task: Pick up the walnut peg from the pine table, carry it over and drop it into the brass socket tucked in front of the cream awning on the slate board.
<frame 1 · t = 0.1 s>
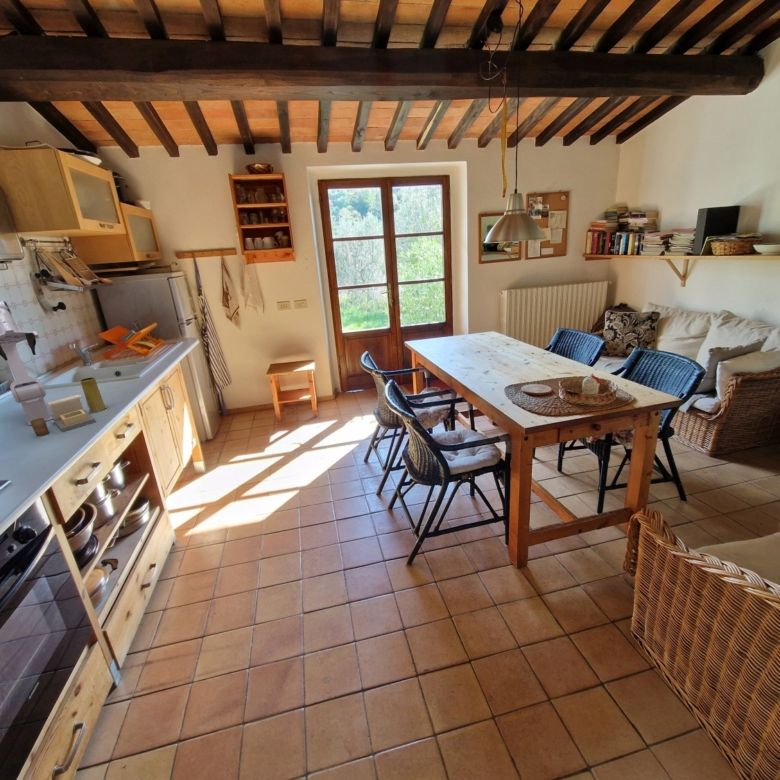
hand: (20, 355, 143), 32 cm above the countertop, tool tilted 50°, fingers open, 7 cm apart
vase: (98, 410, 179), on the countertop
peg: (42, 434, 158), on the countertop
socket stand: (75, 422, 167), on the countertop
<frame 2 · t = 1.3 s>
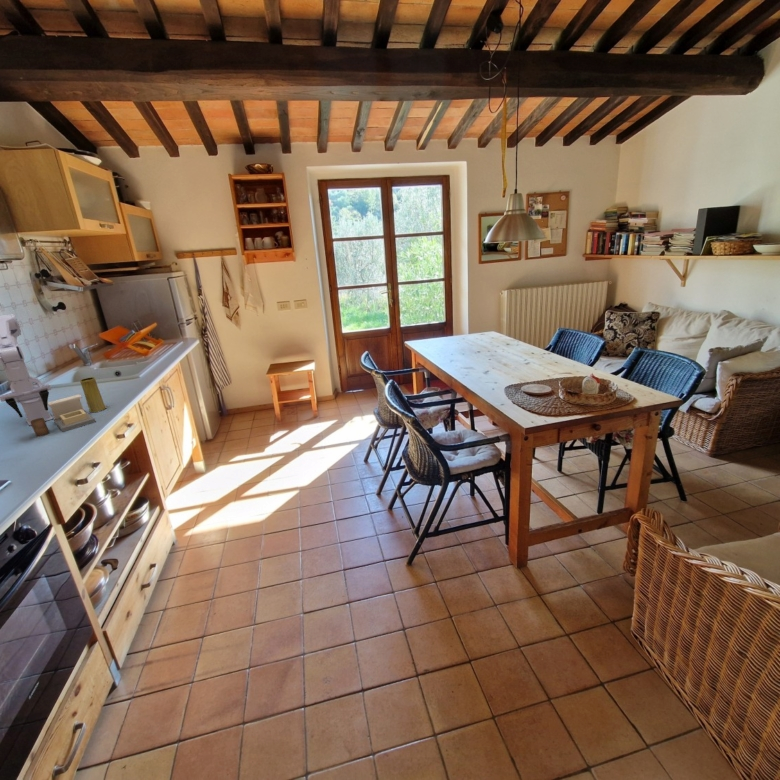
hand: (34, 413, 155), 9 cm above the countertop, tool pointing down, fingers open, 7 cm apart
nothing on the countertop moved.
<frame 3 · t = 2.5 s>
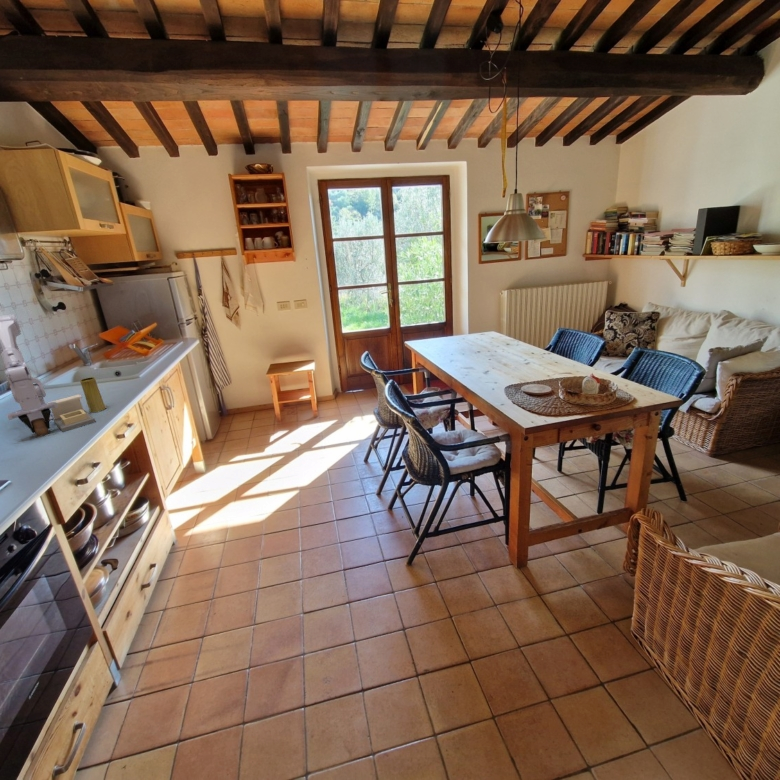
hand: (41, 430, 157), 2 cm above the countertop, tool pointing down, fingers closed on peg, 4 cm apart
peg: (42, 434, 158), on the countertop, touching gripper
everything else where it was.
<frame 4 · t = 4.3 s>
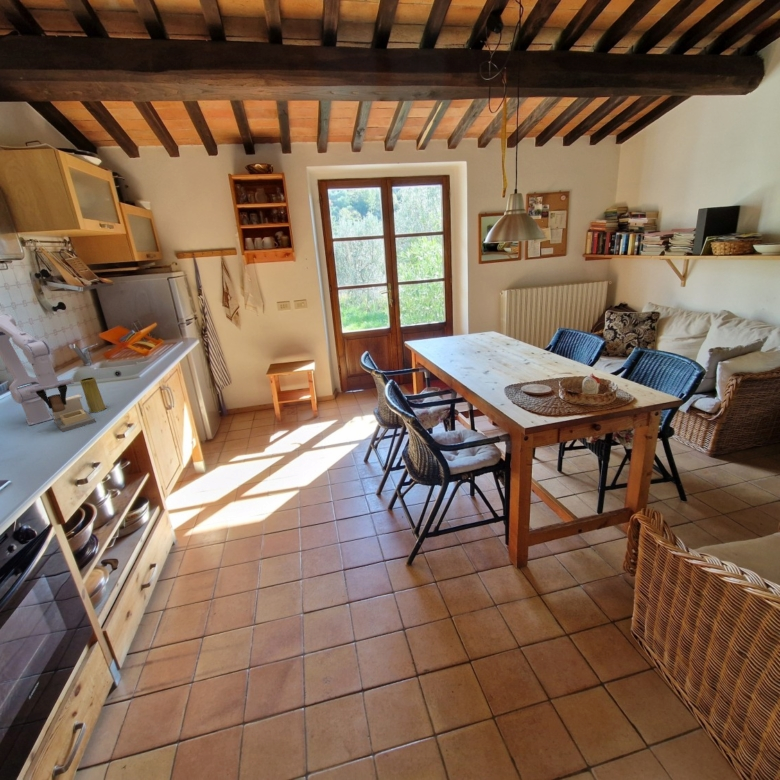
hand: (57, 406, 160), 9 cm above the countertop, tool pointing down, fingers closed on peg, 4 cm apart
peg: (59, 410, 161), point 7 cm above the countertop, touching gripper
everything else where it was.
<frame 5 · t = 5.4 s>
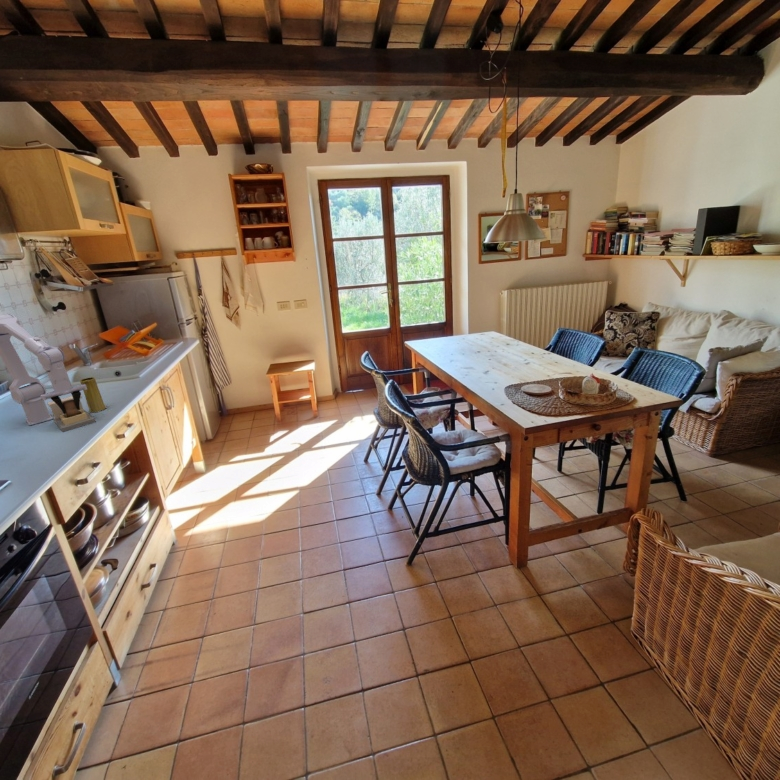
hand: (71, 411, 164), 5 cm above the countertop, tool pointing down, fingers closed on peg, 4 cm apart
peg: (73, 415, 165), point 4 cm above the countertop, touching gripper
everything else where it was.
when the fingers open (5 cm above the countertop, at t = 6.3 s): peg drops 2 cm, resting on socket stand.
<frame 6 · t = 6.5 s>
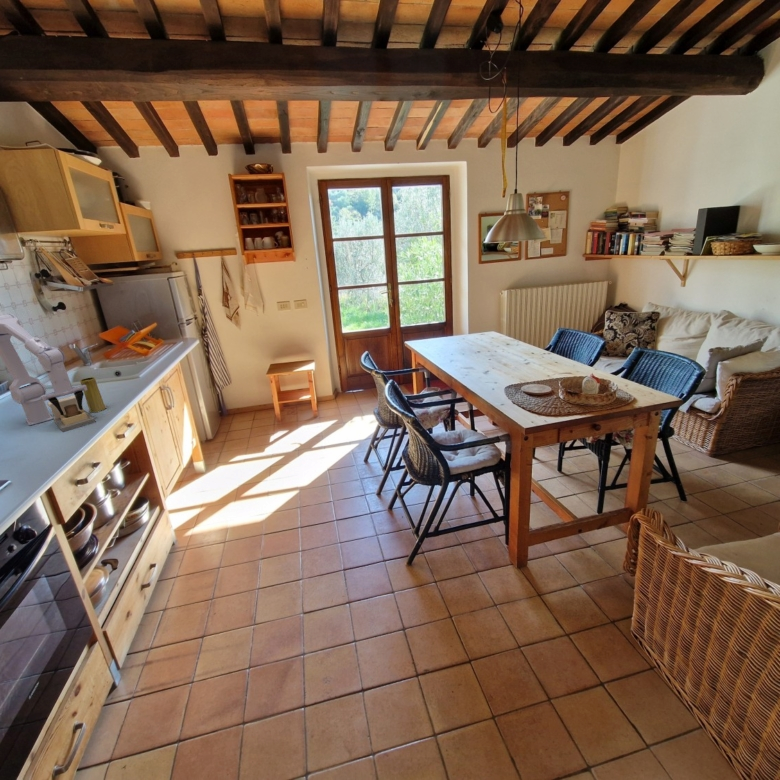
hand: (71, 412, 164), 5 cm above the countertop, tool pointing down, fingers open, 6 cm apart
peg: (74, 419, 166), point 2 cm above the countertop, touching socket stand
everything else where it was.
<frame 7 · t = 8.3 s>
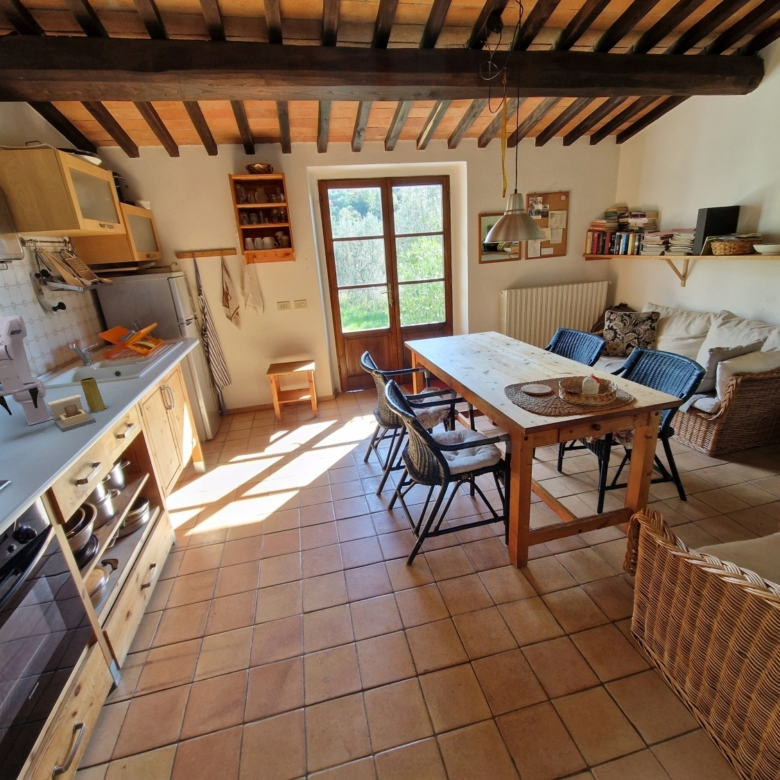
hand: (23, 411, 156), 9 cm above the countertop, tool pointing down, fingers open, 7 cm apart
nothing on the countertop moved.
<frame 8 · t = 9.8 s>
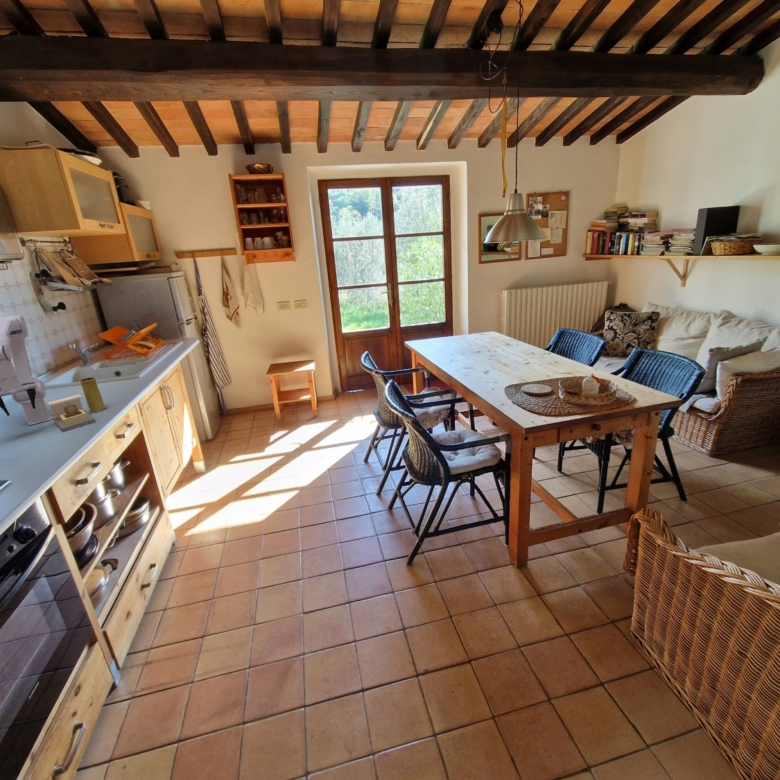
hand: (21, 411, 156), 9 cm above the countertop, tool pointing down, fingers open, 7 cm apart
nothing on the countertop moved.
at the end: peg 0.1 cm from the target spot on the socket stand, point 1.5 cm above the socket stand's base; peg tilted 0°; the gripper is holding nothing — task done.
